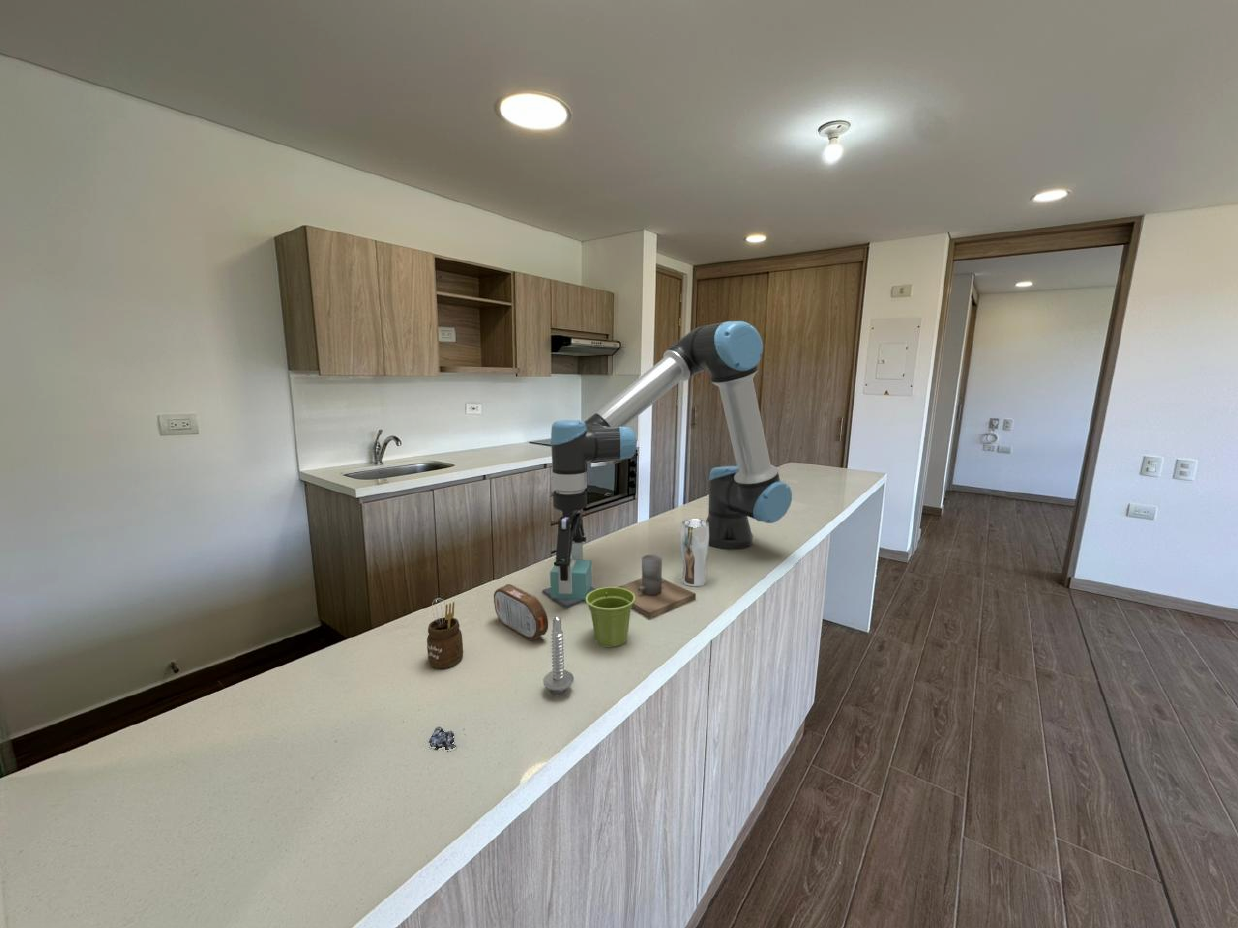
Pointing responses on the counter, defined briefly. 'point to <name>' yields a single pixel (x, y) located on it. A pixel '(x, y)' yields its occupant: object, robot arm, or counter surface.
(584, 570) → the striped light blue box
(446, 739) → the grey irregular lump
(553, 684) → the screw
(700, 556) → the beer glass
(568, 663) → the counter surface
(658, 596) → the brown square stand
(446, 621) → the utensil holder
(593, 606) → the plant pot
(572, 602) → the mat
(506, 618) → the tin
